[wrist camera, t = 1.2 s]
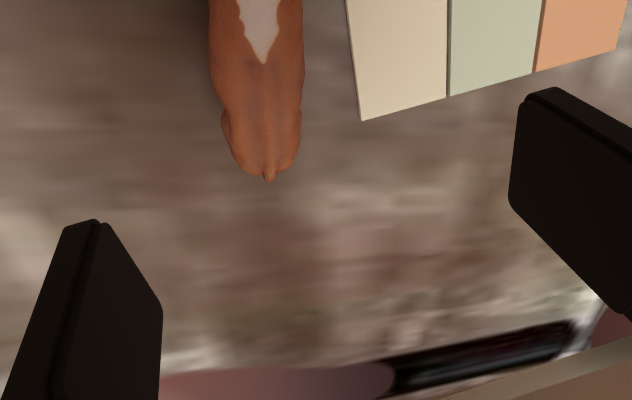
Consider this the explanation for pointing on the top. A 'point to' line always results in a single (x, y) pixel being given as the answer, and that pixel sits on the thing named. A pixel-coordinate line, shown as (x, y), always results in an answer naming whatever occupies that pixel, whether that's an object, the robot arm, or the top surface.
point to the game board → (467, 44)
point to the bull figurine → (258, 79)
